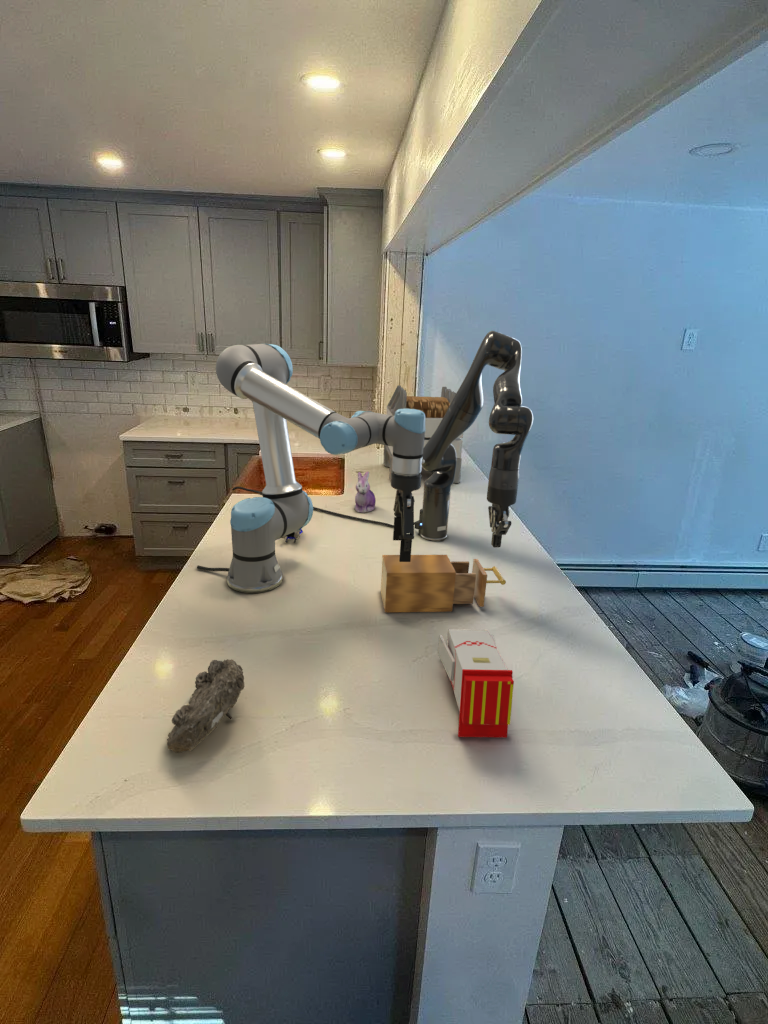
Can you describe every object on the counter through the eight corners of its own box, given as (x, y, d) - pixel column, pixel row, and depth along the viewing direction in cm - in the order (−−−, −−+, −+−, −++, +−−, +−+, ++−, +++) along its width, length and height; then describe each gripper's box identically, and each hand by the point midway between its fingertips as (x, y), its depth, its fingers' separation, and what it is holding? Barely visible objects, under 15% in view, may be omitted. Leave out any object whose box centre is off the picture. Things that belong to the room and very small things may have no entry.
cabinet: (443, 591, 160) (447, 554, 156) (452, 611, 150) (456, 572, 146) (380, 592, 158) (382, 554, 154) (384, 612, 148) (386, 572, 144)
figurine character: (300, 549, 187) (305, 527, 200) (299, 528, 183) (305, 508, 197) (279, 548, 187) (286, 527, 200) (279, 528, 183) (285, 507, 197)
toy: (488, 613, 130) (523, 677, 101) (484, 667, 133) (517, 744, 104) (435, 612, 130) (455, 676, 101) (432, 666, 133) (451, 743, 103)
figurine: (359, 514, 216) (360, 476, 211) (348, 506, 225) (349, 469, 220) (381, 511, 220) (382, 474, 215) (369, 503, 229) (371, 467, 224)
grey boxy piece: (382, 463, 289) (386, 382, 275) (445, 464, 293) (451, 384, 279) (390, 482, 257) (394, 392, 243) (460, 483, 261) (468, 394, 247)
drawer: (493, 589, 161) (497, 558, 158) (503, 606, 152) (508, 574, 149) (416, 589, 159) (418, 559, 155) (422, 607, 149) (424, 575, 146)
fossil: (192, 660, 117) (244, 628, 112) (224, 691, 120) (276, 661, 115) (142, 746, 98) (202, 712, 93) (182, 779, 101) (242, 748, 96)
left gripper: (430, 488, 130) (423, 571, 137) (413, 459, 153) (408, 532, 161) (398, 487, 129) (392, 571, 136) (386, 458, 152) (382, 531, 160)
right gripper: (526, 492, 139) (517, 556, 145) (509, 477, 152) (502, 536, 157) (496, 492, 138) (488, 556, 144) (482, 476, 151) (475, 536, 157)
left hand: (401, 550), depth 149 cm, fingers open, 13 cm apart
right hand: (495, 546), depth 151 cm, fingers closed
